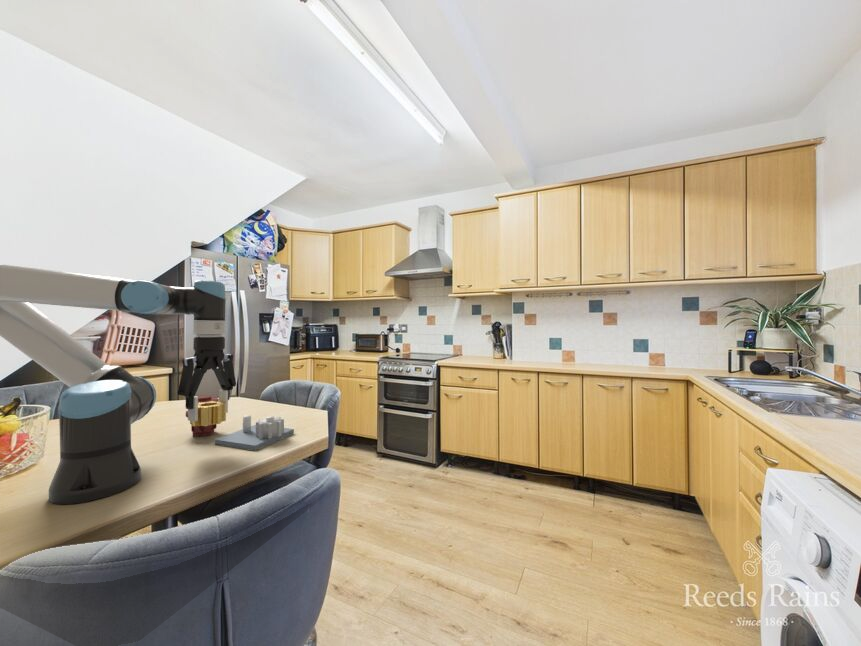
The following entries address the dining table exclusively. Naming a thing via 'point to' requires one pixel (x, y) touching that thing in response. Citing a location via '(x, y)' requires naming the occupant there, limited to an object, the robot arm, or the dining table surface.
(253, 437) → the gear board
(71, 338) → the robot arm
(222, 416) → the brass gear
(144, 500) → the dining table surface
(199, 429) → the mechanical component
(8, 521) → the dining table surface
